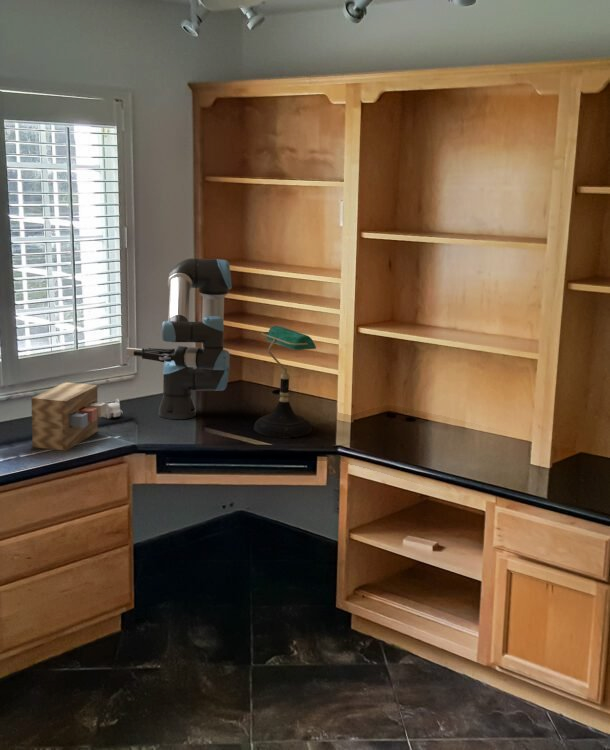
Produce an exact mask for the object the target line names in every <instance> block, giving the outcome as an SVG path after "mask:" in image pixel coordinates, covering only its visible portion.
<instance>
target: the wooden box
mask: <svg viewBox="0 0 610 750" xmlns="http://www.w3.org/2000/svg"><path fill="white" fill-rule="evenodd" d="M90 403H99V402H98V385H97V384H90V383H89V384H87V383H78V382H77V383H76V382H67V381H66V382H62V383H61V384H59V385H56V386H54V387H51V388H50V389H48V390H45V391H44V392H42V393H39V394H37V395H35V396H32V397H31V429H32V430H31V433H32V435H31V436H32V448H38V449H48V450H57V451H65V452H66V451H69V450H70V449H72V448H73V447H75V446H77V445H78V444H80V443H82V442H83V441H85V440H86V439H88V438H90V437H92V435H94V434H95V433H97V432H98V431H99V425H98V424H99V423H98V420H99V416H97V420H96V421H94V422H92V423H89V421H88V426H86V427H84V428H83V429H81V428H80V427H72V426H70V420H69V415H70V414H72V413H77V414H79V409H81V408H89V404H90Z"/></svg>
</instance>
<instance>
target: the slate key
mask: <svg viewBox="0 0 610 750" xmlns="http://www.w3.org/2000/svg"><path fill="white" fill-rule="evenodd" d="M69 420H70V426H72V427H80V428H81V429H83V428H84V427H86V426H88V413H85V414H77V413H72V414H70V415H69Z"/></svg>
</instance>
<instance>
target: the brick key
mask: <svg viewBox="0 0 610 750" xmlns="http://www.w3.org/2000/svg"><path fill="white" fill-rule="evenodd" d="M85 413H88V421H89V423H92V422H94V421H96V420H97V408H93V409H91V408H81V409H79V414H85Z"/></svg>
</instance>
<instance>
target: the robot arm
mask: <svg viewBox="0 0 610 750" xmlns="http://www.w3.org/2000/svg"><path fill="white" fill-rule="evenodd" d="M230 267H231V266H230V263H229V261H228V260H227V259H220V258H193V257H192V258H191V257H190V258H186V259H184V260H182V261H180V262H178V263H177V264H176V265H174V266H173V268H172V269H171V271H170V272H169V274H168V278H167V287H168V289H169V299H168V300H169V302H168V319H167V320H164V321H163V322H162V327H161V339H162V340H163V342H167V343H169V342H170V343H196V344H197V343H201V347H196V346H195V347H194V346H193V347H192V346H189V347H188V346H182V345H178V346H177V347H176V348H153V347H149V348H135V347H126V348H125V356H126V357H138V358H141V359H143V360H149V361H156V362H160V363H163V371H162V374H163V382H162V383H163V385H162V387H163V391H162V399H161V402H160V403H159V404H160V405H159V407H158V416H160V417H161V418H163V419H167V420H168V419H171V420H185V419H191V418H194V417H196V412H197V410H196V406H195V402H194V400H193V396H192V395H193V391H196V392H197V391H200V392H201V391H202V392H203V391H204V392H205V391H206V392H207V391H208V392H211V391H212V392H216V391H217V392H218V391H221V392H222V391H225V390H226V389H227V386H228V382H229V374H230V359H231V357H230V352H229V350H227V349H224V333H225V329H224V327H225V326H224V317H225V315H224V314H225V297H226V296H228V294H229V290H231V289H232V288H233V287H232V286H233V285H232V276H231V275H232V274H231V268H230ZM192 289H198V293H199V294H200V296H202V306H201V307H202V313H201V314H202V316H201V320H202V321H190V294H191V293H190V291H191V290H192Z"/></svg>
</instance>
